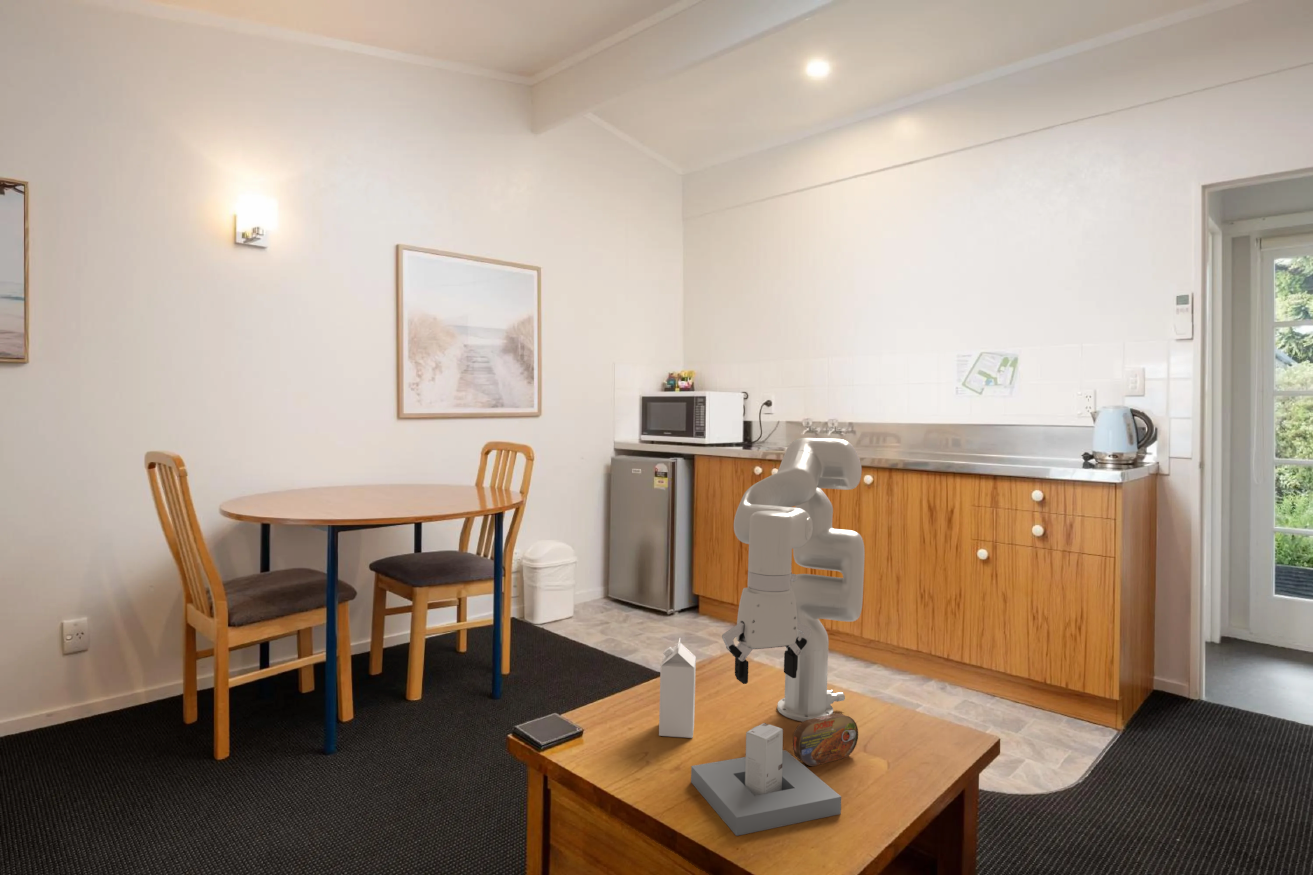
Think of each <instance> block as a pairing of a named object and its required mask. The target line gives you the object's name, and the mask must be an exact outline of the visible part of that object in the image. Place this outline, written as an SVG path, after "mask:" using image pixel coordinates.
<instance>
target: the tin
mask: <svg viewBox="0 0 1313 875" xmlns="http://www.w3.org/2000/svg"><path fill="white" fill-rule="evenodd" d="M858 740H859V729H858V725H857V723H856V720H854V719H853V718H852V717H851V716H849V715H845V714H842V713H839V712H833V714H830V715H826V716H821V717H817V718H813V719H809V720H805V721H801V723H799V724H798V726H797V727H796V729H795V730H794V732H793V737H792V750H793V753H794V755H795V756H796V757H795V758H796V759H797V760H800V762H803V763H804V764H806V765H807V766H808V767H809V766H810V767H817V766H820V765H824V764H827V763H831V762H834V761H839V760H842V759H845V758H847V757H849V756H850V755H851V754H852V753H853V752H854V750H855V749H856V746H857V745H858V744H857V743H858Z"/></svg>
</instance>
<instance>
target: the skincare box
mask: <svg viewBox="0 0 1313 875" xmlns="http://www.w3.org/2000/svg"><path fill="white" fill-rule="evenodd" d="M783 729H784V728H781V727H778V726H775V725H773V724H769V723H766V722H763V723H761V724H759V725H757V726H753V727H752V728H751V729H750V730H748V731H746V733H745V757H746V767H745V786H746V787H747V788H748V790H749V791H750V792H751V793H752V794H753V795H754V796H756V795H761V794H767V793H772V792H777V791H782V751H784V749H783V745H784V744H783V740H784V737H783V736H784V735H783V734H784V730H783Z"/></svg>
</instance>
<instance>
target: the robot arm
mask: <svg viewBox="0 0 1313 875" xmlns="http://www.w3.org/2000/svg"><path fill="white" fill-rule="evenodd" d="M862 473H863V472H862V462H861V459H860V456H859V454H858V452H857V450H856V448H855V447H854V446H853V445H852V443H851V442H849V441H848V440H845V439H841V438H823V437H821V438H820V437H817V438H816V437H801V438H797V439H795V440H793V441H791V442H790V443H789V445H788V446H787V447H786V449H785V452H784V455H783V457H782V459H781V462H780V465H779V468H778V469H777V472H775V473H773V474H771V475H768V477H767V476H766V477H765V478H763V479H761V480H760V481H758V482H755V483H754V484H753V485H751V486H750V487H749V488H748V489H747V490H746V491H744V493H743V495H742V497H741V499H740V501H739V504H738V506H737V509H736V512H735V515H734V520H733V532H734V534H735V537H736V538H737V540H738V541H739V542H741V543H744V544H746V545H748V560H747V561H748V562H747V563H748V564H747V570H748V571H747V587H743V589H742V592H741V596H740V599H739V605H738V610H737V618H736V619H737V620H736V625H734V626H733V627H731V628H730V629H728V630H727V631H725V632H724V633H722V635H721V637H722V640H723V642H724V644H725V647H726V649H727V651H729V652H730V654H732V656H733V657H734V658H735V659H734V676H735V679H736V680H737V681H738V682H740V683H742V684H743V685H747V684H748V683H749V661H748V660H747V658H748V657H749V655H750V654H751V652H752V651H753V650H763V649H772V648H774V649H775V648H785V651H784V654H783V655H784V658H783V659H784V660H783V673H784V674H785V675H784V676H785V677H784V697H783V698H782V699H779V700H778V702H777V707H776V708H777V711H778V712H779V714H781V715H782V716H784V717H785V718H788V719H790V720H791V719H792V720H794V721H799V722H803V721H805V720H809V719H813V718H817V717H821V716H826V715H830V714H834V707H833V706H832V704H834V702H843V701H845V699H846V695H845V694H844V692H842V691H839V692H834V691H833V689H830V690H829V689H828V671H829V670H828V667H829V635H828V632H827V630H826V628H825V626H824V625H823V624H822V622H821V620H822V619H823V620H831V621H836V622H837V621H838V622H847V623H848V622H850V623H851V622H856V621H857V620H858V619H859V618H860V617H861V613H862V610H863V599H864V582H865V581H864V576H865V554H866V553H865V544H864V539H863V537H862V535H861V533H859V532H857V531H855V530H851V529H841V528H834V527H833V517H834V516H833V514H834V507H833V503H832V502H831V501H830V499H829V497H828V496H827V494H826V493H825V492H824V490H823V489H828V490H842V491H843V490H844V491H845V490H846V491H847V490H853V489H856V488H857V486H858V485H860V483H861V478H862ZM792 555H793V556H792ZM792 557H793V558H792ZM792 559H794V562H795V564H797V565H798V566H800V567H803V568H807V569H814V570H823V571H831V572H832V571H835V572H839V573H841V574H842V577H839V576H838V577H837V576H827V575H820V574H810V573H798V574H795V573H792V572H793V571H792V563H793V562H792V561H793V560H792ZM820 619H821V620H820ZM734 639H736V641H737V642H739V643H738V644H737V645H735V642H734Z"/></svg>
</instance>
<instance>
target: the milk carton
mask: <svg viewBox="0 0 1313 875" xmlns="http://www.w3.org/2000/svg"><path fill="white" fill-rule="evenodd" d="M662 653H663V655H662V656H663V657H662V660H661V663H660V669H659V670H660V672H659V673H660V677H659V678H660V679H659V687H660V688H659V710H658V711H659V715H658V716H659V718H658V719H659V720H658V721H659V722H658V736H660V737H661V736H662V737H672V738H689V739H693V736H694V731H695V730H694V729H695V708H696V707H695V705H696V704H695V703H696V702H695V701H696V670H697V669H696V666H697V665H696V662H697V657H696V655H695V654H694V653H692V652H691V650H689V649H688V648H687V647H686V646H685V645H684V644H683V643H682V642H681V637H679V639H678V642H677V644H676V645H674V646H673V647H672V646H668V647H667V648H665V649H664V651H663V652H662Z"/></svg>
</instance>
